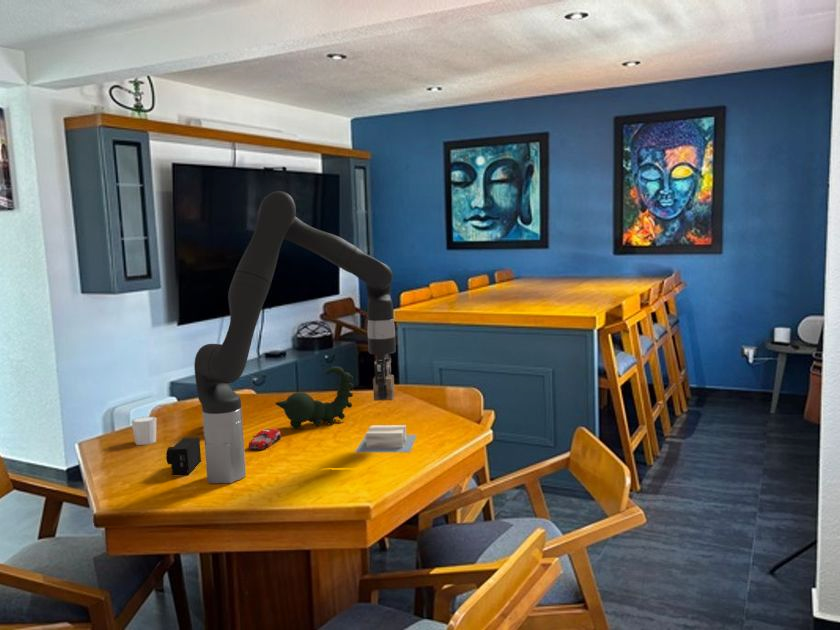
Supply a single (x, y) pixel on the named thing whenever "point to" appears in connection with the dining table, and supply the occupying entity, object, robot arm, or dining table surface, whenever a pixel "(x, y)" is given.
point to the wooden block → (386, 436)
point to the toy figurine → (318, 403)
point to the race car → (264, 439)
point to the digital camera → (184, 456)
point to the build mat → (406, 448)
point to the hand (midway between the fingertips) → (384, 396)
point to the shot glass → (144, 430)
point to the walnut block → (389, 387)
